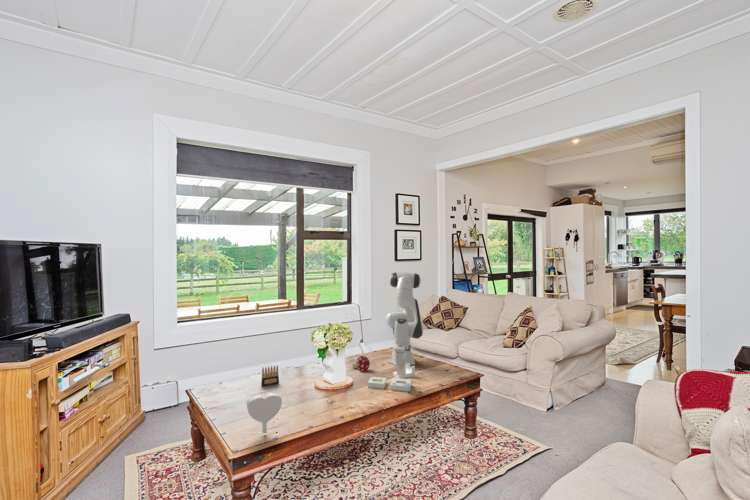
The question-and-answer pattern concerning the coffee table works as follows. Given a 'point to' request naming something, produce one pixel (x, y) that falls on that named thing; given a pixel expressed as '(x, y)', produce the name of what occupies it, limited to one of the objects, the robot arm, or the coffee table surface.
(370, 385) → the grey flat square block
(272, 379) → the ammunition clip
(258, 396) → the heart sculpture
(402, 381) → the port
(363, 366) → the dark red lumpy cluster
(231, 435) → the coffee table surface
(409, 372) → the bracket
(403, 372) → the plug
